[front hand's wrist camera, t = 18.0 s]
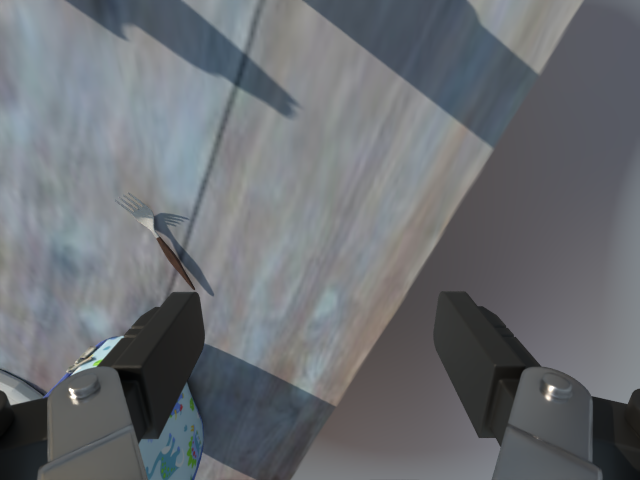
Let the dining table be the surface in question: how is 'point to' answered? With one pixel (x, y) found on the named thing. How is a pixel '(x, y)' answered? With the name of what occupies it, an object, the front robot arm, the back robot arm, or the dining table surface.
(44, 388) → the dining table surface
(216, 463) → the dining table surface
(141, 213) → the fork
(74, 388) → the front robot arm
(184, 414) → the lunch box
